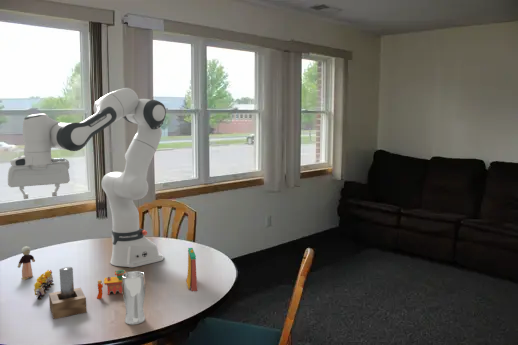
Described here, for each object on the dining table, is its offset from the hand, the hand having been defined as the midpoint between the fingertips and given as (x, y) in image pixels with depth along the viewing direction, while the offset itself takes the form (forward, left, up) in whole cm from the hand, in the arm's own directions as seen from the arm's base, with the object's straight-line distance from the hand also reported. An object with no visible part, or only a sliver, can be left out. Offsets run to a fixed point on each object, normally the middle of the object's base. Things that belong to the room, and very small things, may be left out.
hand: (40, 197), depth 170 cm
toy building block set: (-32, +20, -34) cm, 51 cm away
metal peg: (-4, +25, -34) cm, 43 cm away
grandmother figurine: (+5, -15, -34) cm, 38 cm away
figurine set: (+1, +4, -34) cm, 35 cm away
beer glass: (-21, +44, -34) cm, 60 cm away
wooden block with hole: (-4, +25, -34) cm, 42 cm away
